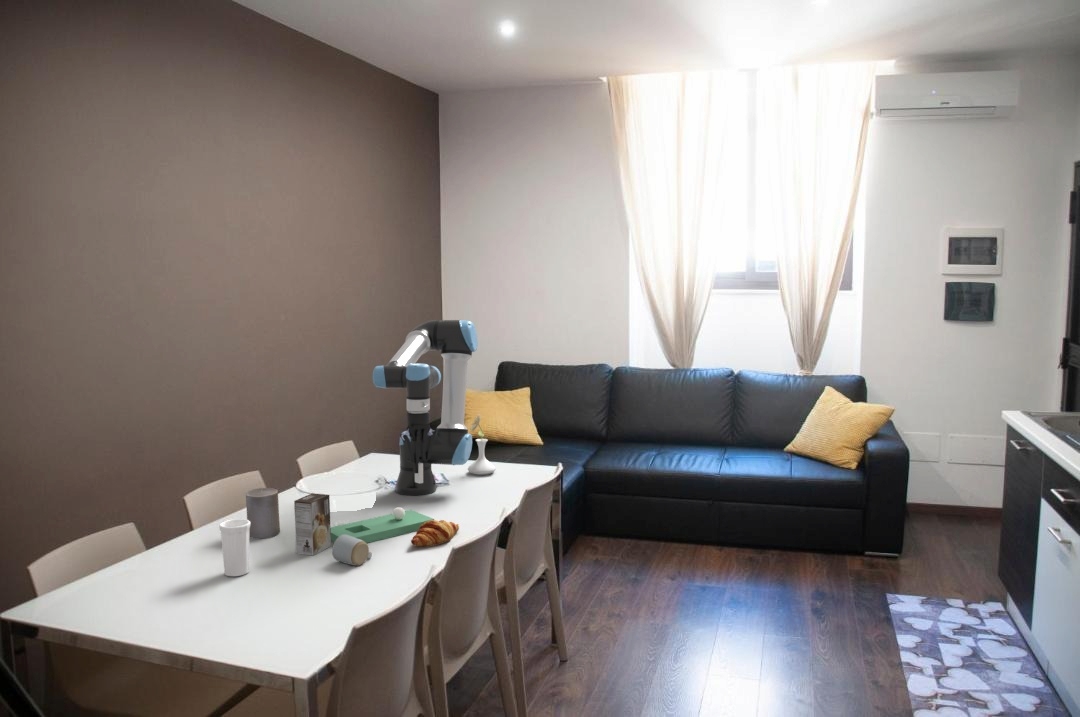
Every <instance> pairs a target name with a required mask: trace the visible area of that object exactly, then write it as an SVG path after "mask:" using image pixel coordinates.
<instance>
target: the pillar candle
mask: <svg viewBox="0 0 1080 717" xmlns="http://www.w3.org/2000/svg"><path fill="white" fill-rule="evenodd" d="M245 504H246V520H249V521H250V522H251V523H250V528H249V539H250V538H251V539H256V540H257V539H270V538H273V537H276V536H278V535H279V534H280V532H281V525H280V507H279V505H280V504H279V491H278V489H276V488H272V487H261V488H260V487H259V488H254V489H251V490H248V491H247V492H246V493H245Z"/></svg>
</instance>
